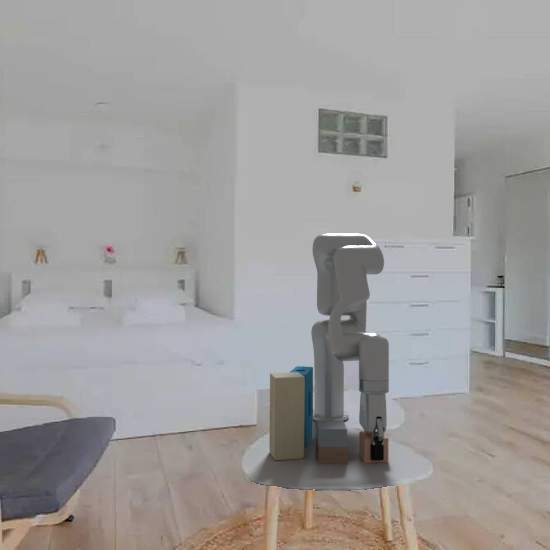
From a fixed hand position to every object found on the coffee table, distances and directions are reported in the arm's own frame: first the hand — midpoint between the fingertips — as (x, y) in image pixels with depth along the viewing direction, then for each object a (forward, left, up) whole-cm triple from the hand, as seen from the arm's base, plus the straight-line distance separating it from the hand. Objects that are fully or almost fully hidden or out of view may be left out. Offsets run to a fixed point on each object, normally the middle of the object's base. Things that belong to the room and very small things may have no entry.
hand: (373, 454), depth 138 cm
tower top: (0, -11, +3) cm, 11 cm away
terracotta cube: (0, 0, -1) cm, 1 cm away
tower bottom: (0, -11, -1) cm, 11 cm away
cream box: (-4, -22, -1) cm, 22 cm away
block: (-14, -17, -1) cm, 22 cm away
